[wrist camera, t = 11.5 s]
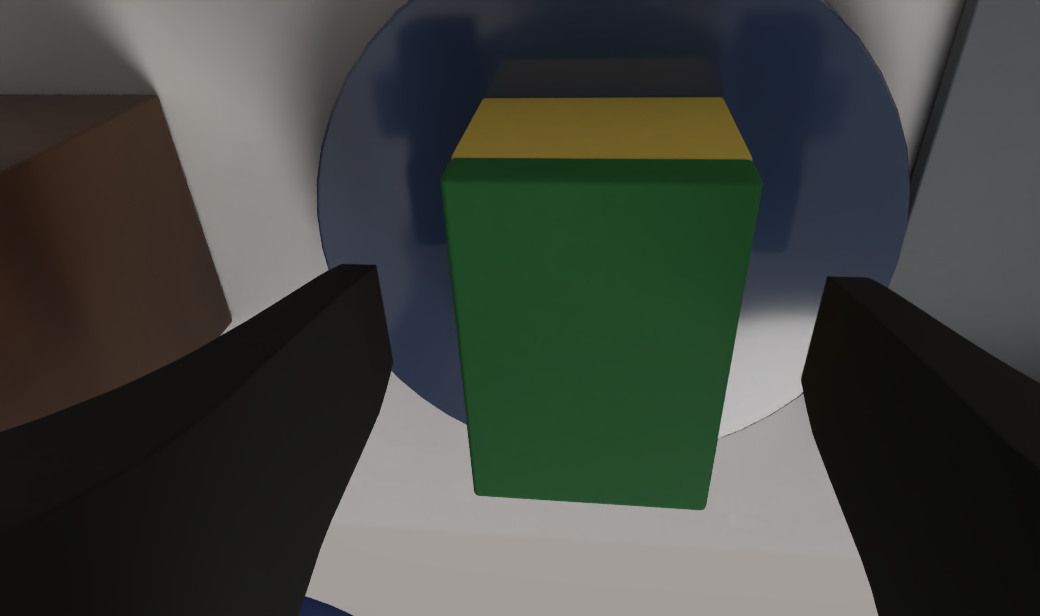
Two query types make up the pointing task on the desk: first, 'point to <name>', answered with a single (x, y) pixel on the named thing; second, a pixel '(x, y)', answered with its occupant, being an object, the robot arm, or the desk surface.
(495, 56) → the plate
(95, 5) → the desk surface
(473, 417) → the sponge
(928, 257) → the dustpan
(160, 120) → the brown wooden block
